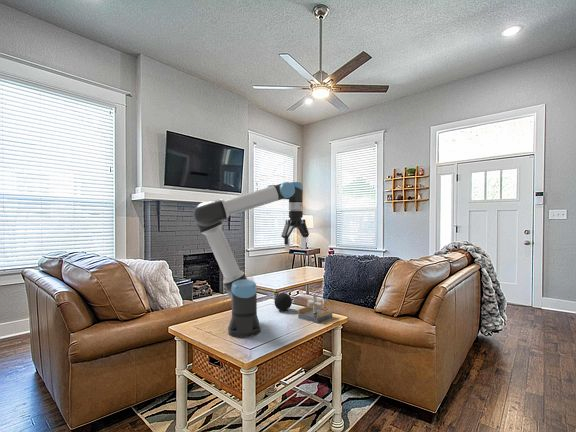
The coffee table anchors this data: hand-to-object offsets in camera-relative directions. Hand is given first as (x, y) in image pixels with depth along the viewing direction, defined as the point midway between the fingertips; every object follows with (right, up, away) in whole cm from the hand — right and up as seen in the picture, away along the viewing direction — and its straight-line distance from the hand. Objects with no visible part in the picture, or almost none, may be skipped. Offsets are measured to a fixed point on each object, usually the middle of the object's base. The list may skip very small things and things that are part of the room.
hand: (295, 249), depth 171 cm
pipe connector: (+10, -33, -2) cm, 35 cm away
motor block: (+10, -36, -2) cm, 38 cm away
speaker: (-7, -36, +11) cm, 39 cm away
